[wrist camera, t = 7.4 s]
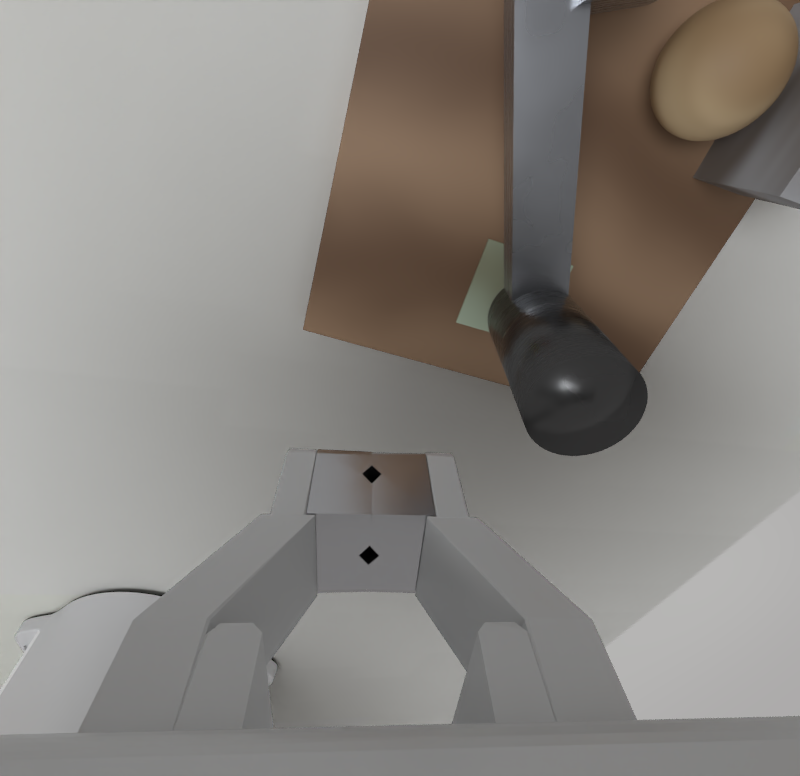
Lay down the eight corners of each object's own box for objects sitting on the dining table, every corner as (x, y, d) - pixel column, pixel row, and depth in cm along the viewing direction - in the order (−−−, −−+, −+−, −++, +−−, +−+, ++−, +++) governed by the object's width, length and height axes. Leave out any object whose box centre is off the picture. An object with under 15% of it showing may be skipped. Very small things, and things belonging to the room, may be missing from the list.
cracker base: (604, 402, 22) (654, 477, 18) (307, 320, 20) (277, 380, 16) (979, -181, 12) (1323, -359, 8) (466, -459, 10) (515, -931, 6)
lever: (603, 339, 17) (696, 446, 12) (468, 353, 18) (496, 462, 12) (714, -539, 8) (1371, -1943, 3) (429, -471, 9) (470, -1563, 3)
